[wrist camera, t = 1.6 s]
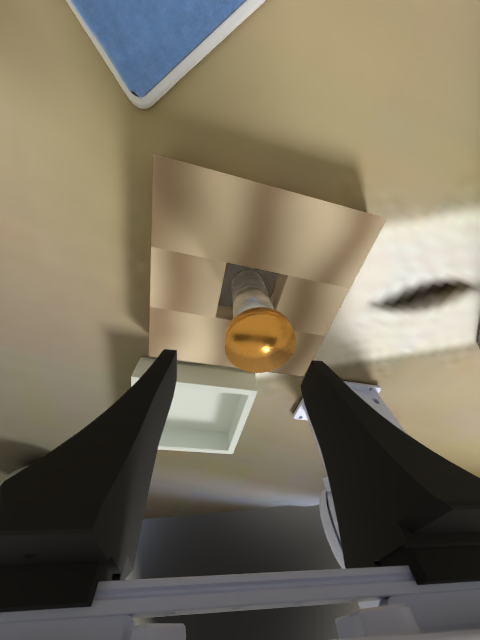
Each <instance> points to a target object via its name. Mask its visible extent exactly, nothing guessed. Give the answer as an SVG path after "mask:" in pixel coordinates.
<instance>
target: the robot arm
mask: <svg viewBox="0 0 480 640" xmlns="http://www.w3.org/2000/svg"><path fill="white" fill-rule="evenodd" d="M176 381H177V350H170V349H164V350H163V351H162V352H161V353H160V355H159V356H158V357H157V359H156V360H155V361H154V362H153V364H152V365H151V366H150V367H149V368H148V369H147V371H146V372H145V373H144V374H143V375H142V376H141V377H140V378H139V380H138V381H137V382H136V383H135V384H134V385H133V386H132V387H131V388H130V389H129V390H128V391H127V392H126V393H125V394H124V395H123V396H122V397H121V398H120V399H118V400H117V401H116V402H115V403H114V404H113V405H112V406H111V407H110V408H108V409H107V410H106V411H105V412H104V413H102V414H101V415H100V416H99V417H98V418H96V419H95V420H94V421H93V422H91V423H90V424H89V425H87V426H86V427H85V428H84V429H82V430H81V431H80V432H78V433H77V434H75V435H74V436H73V437H71V438H70V439H68V440H67V441H65V442H64V443H63V444H61V445H60V446H58V447H57V448H55V449H54V450H53V451H51V452H50V453H48V454H47V455H45V456H44V457H42V458H40V459H39V460H37V461H36V462H34V463H32V464H31V465H29V466H28V467H26V468H24V469H23V470H21V471H20V472H18V473H16V474H15V475H13V476H12V477H10V478H8V479H7V480H5V481H4V482H3V483H2V484H1V485H0V640H186V634H185V629H186V628H185V626H184V624H139V625H136V623H135V621H134V620H133V619H132V618H145V617H159V616H172V615H186V614H199V613H213V612H225V611H226V612H227V611H239V610H254V609H267V608H281V607H293V606H308V605H320V604H321V605H322V604H335V603H349V602H358V604H359V606H360V610H358V611H357V612H355V613H352V614H350V615H347V616H343V617H339V618H336V622H335V623H336V627H337V630H338V635H339V639H334V640H480V478H478V477H477V476H475V475H473V474H471V473H469V472H468V471H466V470H464V469H462V468H460V467H459V466H457V465H455V464H453V463H451V462H450V461H448V460H446V459H445V458H443V457H441V456H440V455H438V454H437V453H435V452H433V451H432V450H430V449H428V448H427V447H425V446H424V445H422V444H421V443H419V442H418V441H416V440H415V439H413V438H412V437H410V436H409V435H407V433H406V432H405V430H404V429H403V428H402V426H401V425H400V424H399V422H398V421H397V419H396V418H395V417H394V415H393V414H392V412H391V411H390V410H389V408H388V407H387V405H386V404H385V403H384V401H383V400H382V398H381V397H380V396H379V394H378V393H379V392H380V390H381V388H380V386H378V385H370V384H363V383H355V382H347V381H342V380H341V379H340V378H339V377H338V376H337V375H336V374H335V373H334V372H333V371H332V370H331V369H330V368H329V367H328V366H327V365H326V364H325V363H324V362H322V361H311V363H310V366H309V368H308V370H307V373H306V375H305V377H304V379H303V382H302V384H301V391H302V396H303V398H302V400H301V402H300V404H299V405H298V407H297V409H296V411H295V412H294V414H293V417H294V419H300V420H308V422H309V425H310V428H311V431H312V434H313V437H314V440H315V442H316V445H317V448H318V451H319V454H320V457H321V460H322V463H323V466H324V469H325V471H326V474H327V477H325V478H323V481H324V485H325V488H326V490H323V491H322V492H321V497H320V504H319V506H320V515H321V519H322V524H323V527H324V531H325V534H326V536H327V539H328V542H329V544H330V547H331V549H332V551H333V553H334V556H335V557H336V559H337V561H338V563H339V564H340V566H341V567H342V569H331V570H313V571H293V572H274V573H256V574H255V573H254V574H235V575H217V576H197V577H179V578H178V577H177V578H159V579H141V580H140V579H139V580H125V579H126V577H127V576H128V575H129V574H130V573H131V572H132V570H133V569H134V562H135V558H136V552H137V547H138V542H139V536H140V531H141V526H142V521H143V516H144V511H145V506H146V501H147V496H148V491H149V486H150V481H151V477H152V472H153V467H154V463H155V458H156V454H157V449H158V446H159V442H160V439H161V435H162V432H163V429H164V426H165V423H166V419H167V416H168V413H169V410H170V407H171V403H172V400H173V396H174V391H175V386H176Z"/></svg>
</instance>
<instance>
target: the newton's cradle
mask: <svg viewBox="0 0 480 640" xmlns="http://www.w3.org/2000/svg"><path fill="white" fill-rule="evenodd" d="M478 346H479V348H480V328H479V335H478Z"/></svg>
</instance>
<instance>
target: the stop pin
mask: <svg viewBox="0 0 480 640" xmlns="http://www.w3.org/2000/svg"><path fill="white" fill-rule="evenodd" d="M232 303H233V319H232V320H231V321H230V323H229V324H228V326H227V328H226V331H225V353H226V356H227V358H228V359H229V361H230V362H231V363H232V364H233V365H234V366H236V367H237V368H239V369H241V370H243V371H247V372H252V373H262V372H268V371H271V370H274V369H277V368H279V367H280V366H282V365H283V364H285V363H286V362H287V361H288V360H289V359H290V358H291V356H292V355H293V353H294V351H295V348H296V336H295V333H294V331H293V328H292V326H291V324H290V322H289V320H288V319H287V318H286V317H285V316H284V315H283V314H282V313H281V312H279V311H277V310H274V308H273V305H272V302H271V300H270V297H269V294H268V292H267V289H266V286H265V284H264V281H263V279H262V277H261V275H260V274H258V273H257V272H255V271H252V270H244V271H241V272H239V273H238V274H237V275H236V276H235V277H234V278H233V281H232Z"/></svg>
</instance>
